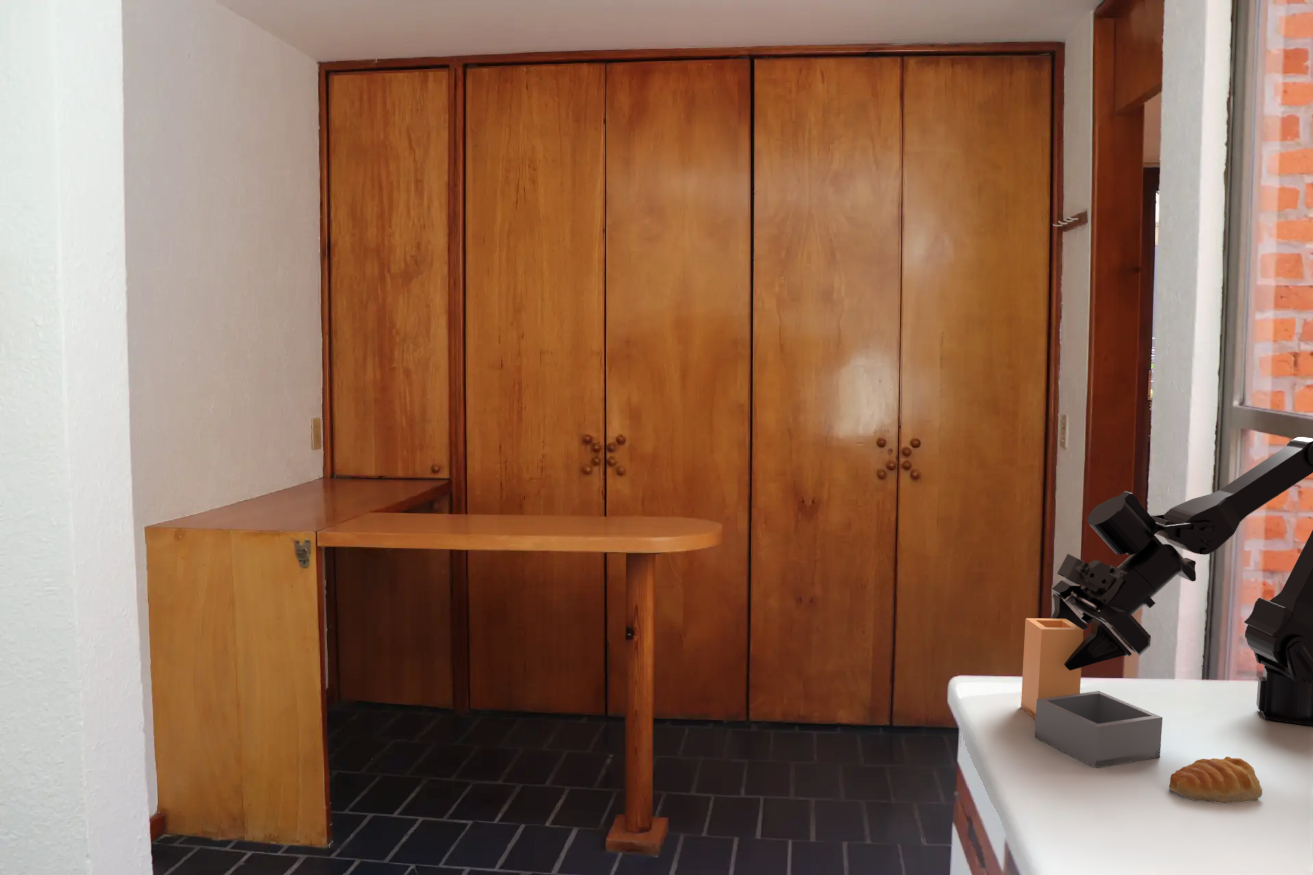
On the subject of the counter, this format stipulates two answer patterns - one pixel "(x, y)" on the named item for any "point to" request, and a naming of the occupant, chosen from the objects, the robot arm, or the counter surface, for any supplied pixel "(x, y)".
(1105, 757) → the grey crate
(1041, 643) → the orange hollow square block
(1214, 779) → the pastry
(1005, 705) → the counter surface
